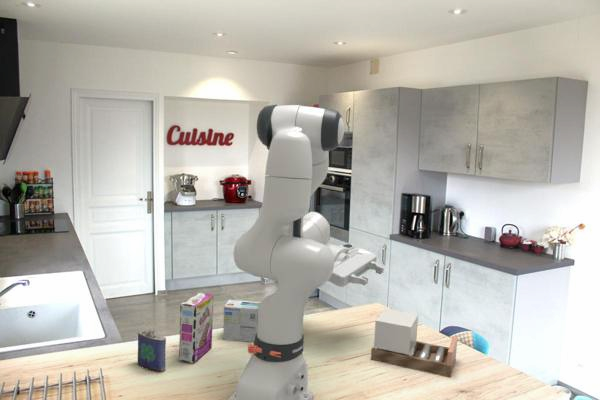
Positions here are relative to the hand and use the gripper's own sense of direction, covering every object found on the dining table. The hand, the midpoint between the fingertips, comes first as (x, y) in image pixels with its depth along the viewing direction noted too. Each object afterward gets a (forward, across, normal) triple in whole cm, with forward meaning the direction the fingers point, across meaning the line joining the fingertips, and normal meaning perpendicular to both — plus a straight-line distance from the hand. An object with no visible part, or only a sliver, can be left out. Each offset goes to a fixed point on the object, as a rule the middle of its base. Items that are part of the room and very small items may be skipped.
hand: (374, 276), depth 146 cm
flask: (-36, -52, +22) cm, 67 cm away
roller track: (+16, 0, +20) cm, 26 cm away
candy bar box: (-32, -39, +23) cm, 56 cm away
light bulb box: (-31, -22, +25) cm, 46 cm away
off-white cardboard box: (+10, -1, +18) cm, 20 cm away
